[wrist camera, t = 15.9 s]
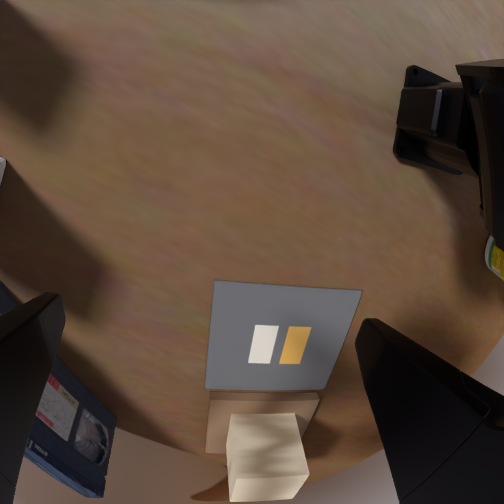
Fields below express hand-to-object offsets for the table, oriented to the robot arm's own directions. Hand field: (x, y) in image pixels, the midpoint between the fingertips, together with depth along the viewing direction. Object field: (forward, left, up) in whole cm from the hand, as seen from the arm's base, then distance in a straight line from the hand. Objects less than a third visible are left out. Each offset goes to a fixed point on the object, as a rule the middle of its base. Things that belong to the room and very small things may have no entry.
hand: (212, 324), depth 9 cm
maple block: (-6, +22, -11) cm, 25 cm away
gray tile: (-6, +11, -12) cm, 17 cm away
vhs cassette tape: (+14, +16, -12) cm, 25 cm away
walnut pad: (-6, +22, -12) cm, 26 cm away
